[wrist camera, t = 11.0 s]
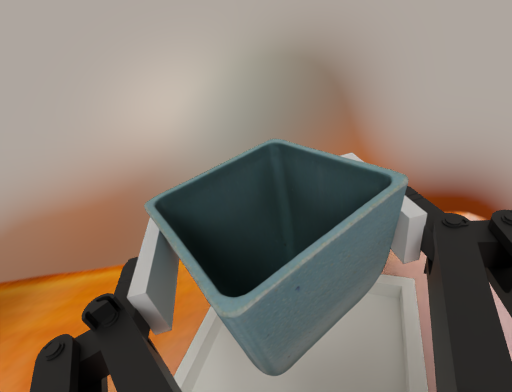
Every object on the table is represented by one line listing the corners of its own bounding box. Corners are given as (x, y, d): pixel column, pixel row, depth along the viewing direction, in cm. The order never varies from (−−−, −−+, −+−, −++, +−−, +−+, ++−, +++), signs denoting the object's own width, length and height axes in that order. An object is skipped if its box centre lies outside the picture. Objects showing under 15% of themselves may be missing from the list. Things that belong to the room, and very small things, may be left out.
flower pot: (197, 306, 18) (139, 200, 13) (292, 238, 22) (273, 135, 17) (279, 437, 12) (224, 323, 7) (397, 310, 15) (415, 175, 10)
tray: (150, 462, 18) (134, 452, 17) (242, 269, 31) (237, 254, 30) (445, 627, 12) (458, 632, 10) (410, 296, 24) (414, 278, 23)
